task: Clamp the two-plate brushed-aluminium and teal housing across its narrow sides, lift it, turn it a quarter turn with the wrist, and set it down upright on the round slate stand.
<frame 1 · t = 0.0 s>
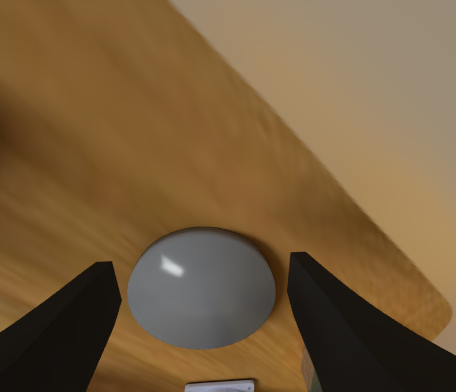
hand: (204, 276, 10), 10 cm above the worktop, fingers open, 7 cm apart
slate stand: (203, 287, 23), on the worktop
housing: (326, 342, 28), on the worktop
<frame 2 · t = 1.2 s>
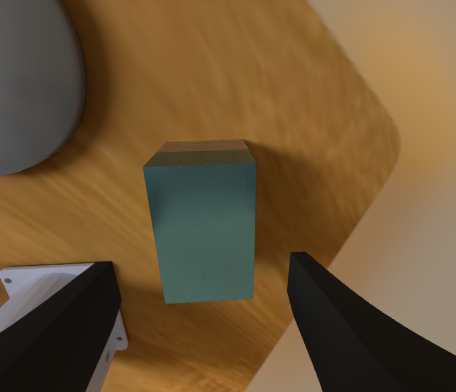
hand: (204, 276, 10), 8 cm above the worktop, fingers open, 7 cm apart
housing: (208, 196, 18), on the worktop
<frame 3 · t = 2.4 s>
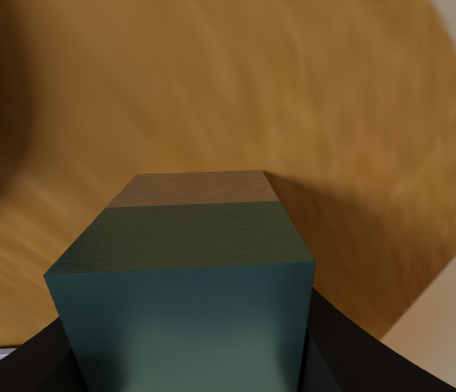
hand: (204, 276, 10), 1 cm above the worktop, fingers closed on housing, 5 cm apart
housing: (205, 255, 11), on the worktop, touching gripper
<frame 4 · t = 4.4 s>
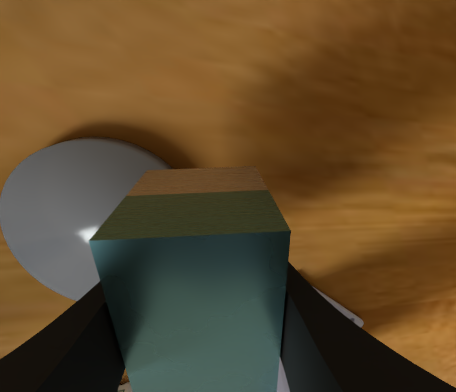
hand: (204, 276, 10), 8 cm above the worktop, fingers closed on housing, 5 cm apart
slate stand: (111, 225, 18), on the worktop
housing: (206, 241, 13), point 5 cm above the worktop, touching gripper
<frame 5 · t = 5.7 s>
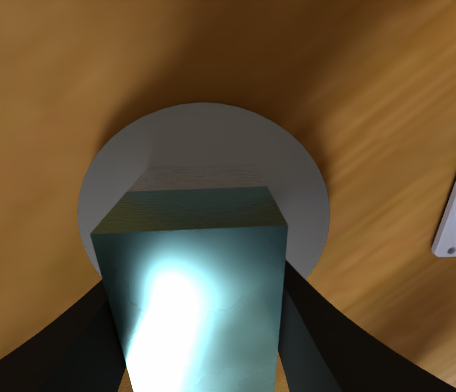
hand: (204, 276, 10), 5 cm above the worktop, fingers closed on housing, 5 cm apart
slate stand: (208, 220, 14), on the worktop
housing: (206, 238, 13), point 1 cm above the worktop, touching gripper, slate stand
when the fingers open (4 cm above the worktop, at t = 6.8 s): housing stays where it is, resting on slate stand.
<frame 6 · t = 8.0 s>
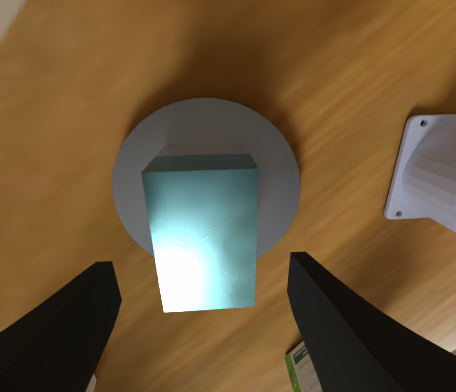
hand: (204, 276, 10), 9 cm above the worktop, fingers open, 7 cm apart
slate stand: (208, 189, 19), on the worktop
housing: (208, 200, 17), point 1 cm above the worktop, touching slate stand
syrup box: (320, 347, 27), on the worktop
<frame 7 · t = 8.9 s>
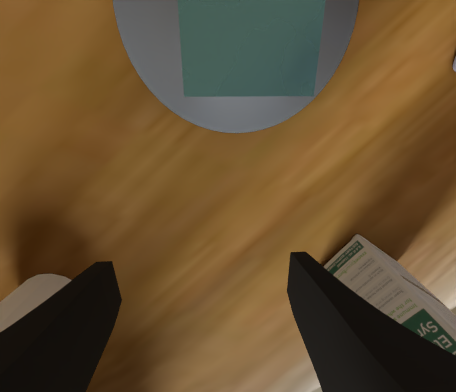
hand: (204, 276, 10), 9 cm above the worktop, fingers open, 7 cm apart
slate stand: (236, 16, 15), on the worktop
housing: (237, 13, 13), point 1 cm above the worktop, touching slate stand
syrup box: (354, 267, 23), on the worktop
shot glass: (56, 296, 22), on the worktop
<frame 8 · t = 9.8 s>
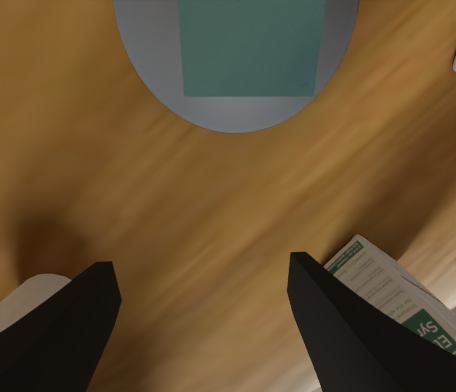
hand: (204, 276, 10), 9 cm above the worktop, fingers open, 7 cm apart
slate stand: (236, 16, 15), on the worktop
housing: (237, 13, 13), point 1 cm above the worktop, touching slate stand
syrup box: (354, 267, 23), on the worktop
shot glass: (56, 296, 22), on the worktop
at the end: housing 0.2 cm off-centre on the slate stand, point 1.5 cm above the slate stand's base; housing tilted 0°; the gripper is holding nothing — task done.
